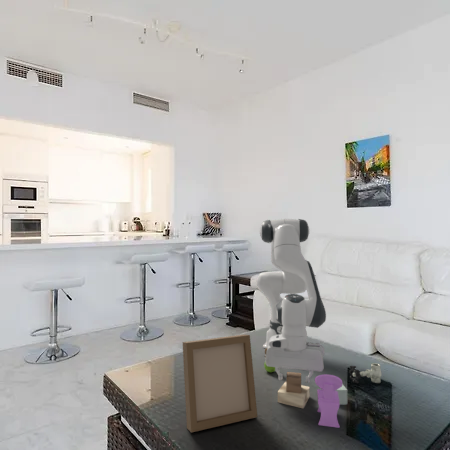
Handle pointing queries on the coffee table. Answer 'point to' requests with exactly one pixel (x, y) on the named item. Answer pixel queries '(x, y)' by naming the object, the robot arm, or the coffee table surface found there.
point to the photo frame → (218, 382)
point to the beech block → (294, 396)
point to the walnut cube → (293, 382)
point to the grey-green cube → (342, 395)
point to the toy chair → (328, 399)
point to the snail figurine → (267, 368)
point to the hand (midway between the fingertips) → (293, 380)
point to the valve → (367, 373)
